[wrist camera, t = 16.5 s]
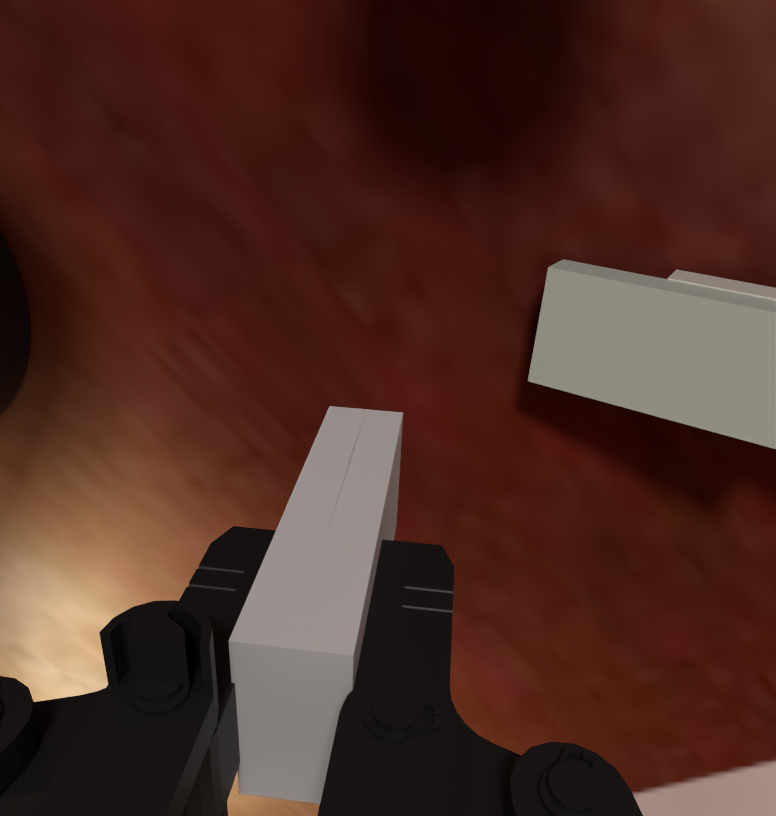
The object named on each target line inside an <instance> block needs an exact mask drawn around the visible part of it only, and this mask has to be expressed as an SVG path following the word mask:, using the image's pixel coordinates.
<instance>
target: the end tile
mask: <svg viewBox="0 0 776 816" xmlns="http://www.w3.org/2000/svg"><path fill="white" fill-rule="evenodd" d="M528 381H529V382H532V383H536V384H540V385H543V386H547V387H551V388H554V389H558V390H562V391H565V392H569V393H573V394H576V395H580V396H583V397H587V398H591V399H594V400H598V401H602V402H605V403H609V404H613V405H616V406H620V407H624V408H627V409H631V410H635V411H638V412H642V413H646V414H649V415H653V416H656V417H660V418H664V419H667V420H671V421H675V422H678V423H682V424H686V425H689V426H693V427H697V428H700V429H704V430H708V431H711V432H715V433H719V434H722V435H726V436H730V437H733V438H737V439H740V440H744V441H748V442H751V443H755V444H759V445H762V446H766V447H770V448H773V449H776V300H772V299H767V298H762V297H757V296H751V295H746V294H741V293H736V292H731V291H725V290H720V289H715V288H710V287H705V286H699V285H694V284H689V283H684V282H678V281H673V280H668V279H663V278H658V277H652V276H647V275H642V274H637V273H632V272H626V271H621V270H616V269H611V268H605V267H600V266H595V265H590V264H585V263H579V262H574V261H569V260H564V259H563V260H561V261H559V262H557V263H556V264H554V265H552V266H550V267H548V272H547V277H546V283H545V288H544V294H543V299H542V305H541V310H540V316H539V321H538V327H537V332H536V338H535V344H534V349H533V355H532V360H531V366H530V371H529V377H528Z"/></svg>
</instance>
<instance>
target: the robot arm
mask: <svg viewBox="0 0 776 816" xmlns="http://www.w3.org/2000/svg"><path fill="white" fill-rule="evenodd" d="M29 348H30V321H29V313H28V306H27V301H26V296H25V292H24V288H23V285H22V281H21V278H20V275H19V272H18V270H17V267H16V265H15V262H14V260H13V257H12V255H11V253H10V251H9V249H8V247H7V245H6V243H5V241H4V239H3V237H2V235H1V234H0V415H1V414H2V413H3V412H4V411H5V409H6V408H7V407H8V406H9V404H10V403H11V401H12V400H13V398H14V397H15V395H16V393H17V391H18V389H19V387H20V385H21V382H22V380H23V377H24V374H25V371H26V367H27V362H28V357H29ZM402 422H403V413H401V412H390V411H378V410H367V409H356V408H344V407H333V406H329V409H328V411H327V413H326V416H325V418H324V420H323V423H322V425H321V427H320V430H319V432H318V434H317V437H316V439H315V441H314V444H313V446H312V448H311V451H310V453H309V455H308V457H307V460H306V462H305V464H304V467H303V469H302V471H301V474H300V476H299V478H298V481H297V483H296V485H295V488H294V490H293V492H292V495H291V497H290V499H289V502H288V504H287V506H286V509H285V511H284V513H283V516H282V518H281V520H280V523H279V525H278V527H277V530H276V531H275V530H265V529H255V528H246V527H236V526H233V527H232V528H230V529H229V530H228V531H226V532H225V533H224V534H223V535H221V536H220V537H219V538H217V539H216V540H215V541H213V542H212V543H211V544H210V546H209V548H208V550H207V552H206V553H205V555H204V557H203V559H202V560H201V562H200V564H199V569H196V571H195V573H194V575H193V577H192V578H191V580H190V582H189V587H186V589H185V591H184V593H183V595H182V596H181V598H180V600H179V601H153V602H149V603H146V604H142V605H138V606H135V607H132V608H130V609H128V610H127V611H125V612H123V613H121V614H120V615H118V616H116V617H114V618H113V619H112V620H111V621H110V622H109V623H108V624H107V625H106V626H105V627H104V628H103V629H102V630H101V632H100V638H101V644H102V649H103V655H104V661H105V667H106V672H107V678H108V686H107V687H106V688H105V689H102V690H100V691H97V692H93V693H88V694H84V695H80V696H73V697H66V698H60V699H53V700H46V701H39V702H33V699H32V696H31V694H30V691H29V688H28V687H27V686H25V685H24V684H22V683H21V682H20V681H18V680H17V679H15V678H9V677H2V676H0V816H228V810H227V800H228V797H229V794H230V791H231V788H232V785H233V782H234V779H235V776H236V773H237V770H238V782H239V793H240V794H247V795H255V796H262V797H270V798H277V799H285V800H292V801H300V802H307V803H315V804H320V807H319V812H318V816H643V815H642V813H641V811H640V809H639V807H638V805H637V802H636V800H635V798H634V796H633V794H632V792H631V790H630V788H629V787H628V785H627V784H626V782H625V781H624V780H623V778H622V777H621V775H620V774H619V772H618V771H617V769H616V768H614V767H613V766H612V765H611V764H609V763H608V762H607V761H606V760H604V759H603V758H602V757H601V756H599V755H598V754H597V753H595V752H593V751H590V750H588V749H585V748H583V747H580V746H578V745H576V744H572V743H560V742H548V743H545V744H541V745H538V746H534V747H531V748H530V749H529V750H528V751H526V752H525V753H524V754H523V755H522V756H521V755H519V754H516V753H514V752H512V751H509V750H507V749H505V748H502V747H500V746H498V745H495V744H493V743H491V742H490V741H488V740H486V739H484V738H482V737H481V736H479V735H478V734H477V733H475V732H474V731H473V730H472V729H471V728H469V727H468V726H467V725H466V724H465V722H464V721H463V720H462V719H461V717H460V716H459V715H458V713H457V712H456V709H455V707H454V705H453V702H452V700H451V693H450V664H451V636H452V609H453V582H454V566H453V564H452V562H451V560H450V559H449V557H448V555H447V553H446V552H445V550H444V548H443V546H441V545H432V544H422V543H412V542H402V541H394V536H395V530H396V521H397V505H398V488H399V472H400V455H401V439H402Z"/></svg>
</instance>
